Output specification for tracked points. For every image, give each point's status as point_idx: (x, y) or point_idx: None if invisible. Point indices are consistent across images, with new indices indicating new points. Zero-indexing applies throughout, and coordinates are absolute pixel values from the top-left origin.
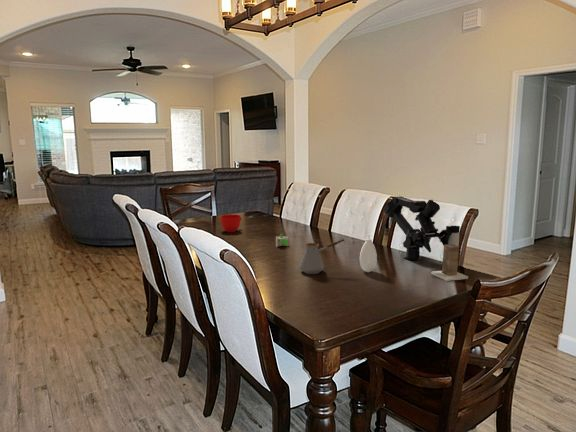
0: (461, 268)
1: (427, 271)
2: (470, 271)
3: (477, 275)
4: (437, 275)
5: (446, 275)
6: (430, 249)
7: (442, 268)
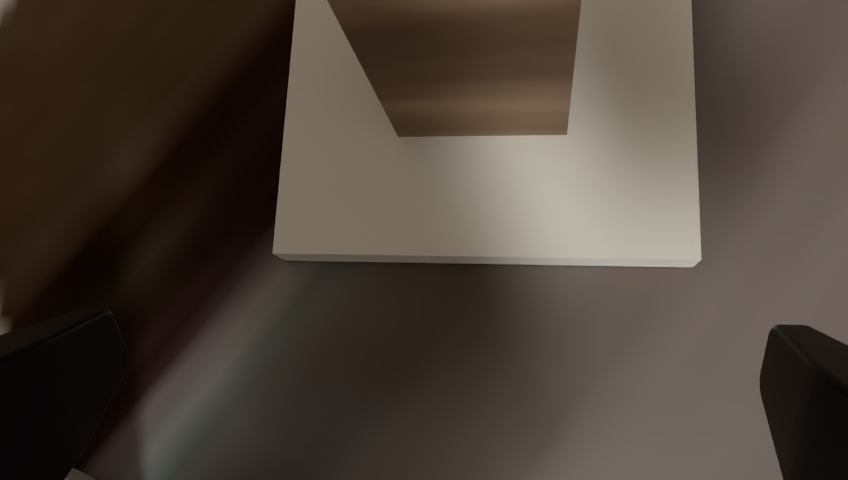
0: None
1: (680, 406)
2: (25, 181)
3: (87, 5)
4: (689, 98)
5: (581, 6)
6: (822, 343)
7: (569, 97)
